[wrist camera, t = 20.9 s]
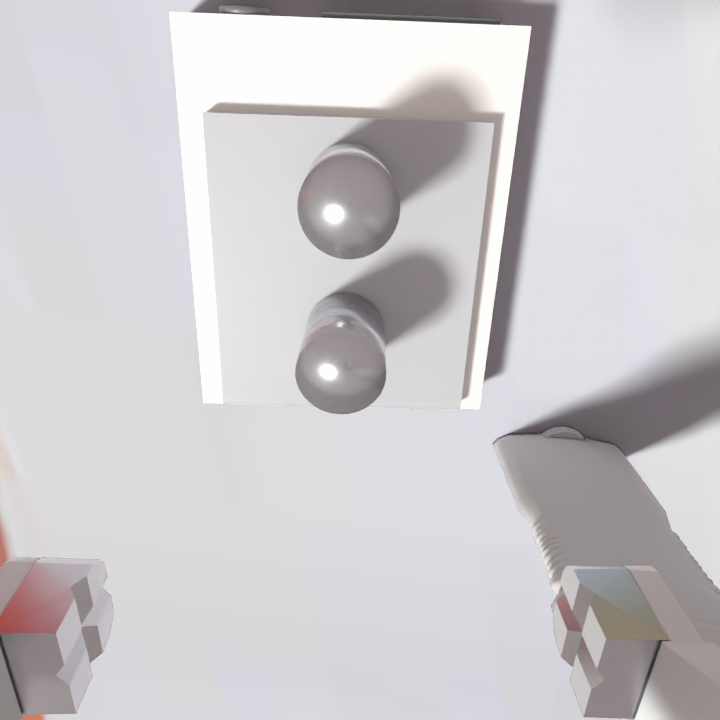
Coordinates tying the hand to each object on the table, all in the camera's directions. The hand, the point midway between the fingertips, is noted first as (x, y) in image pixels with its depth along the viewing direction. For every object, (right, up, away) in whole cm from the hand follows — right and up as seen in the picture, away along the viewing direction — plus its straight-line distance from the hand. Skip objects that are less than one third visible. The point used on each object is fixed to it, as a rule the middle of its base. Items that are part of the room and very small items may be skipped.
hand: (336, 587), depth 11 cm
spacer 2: (0, +6, +25) cm, 26 cm away
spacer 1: (0, +13, +21) cm, 25 cm away
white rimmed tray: (0, +12, +26) cm, 29 cm away
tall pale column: (+15, -2, +34) cm, 37 cm away
